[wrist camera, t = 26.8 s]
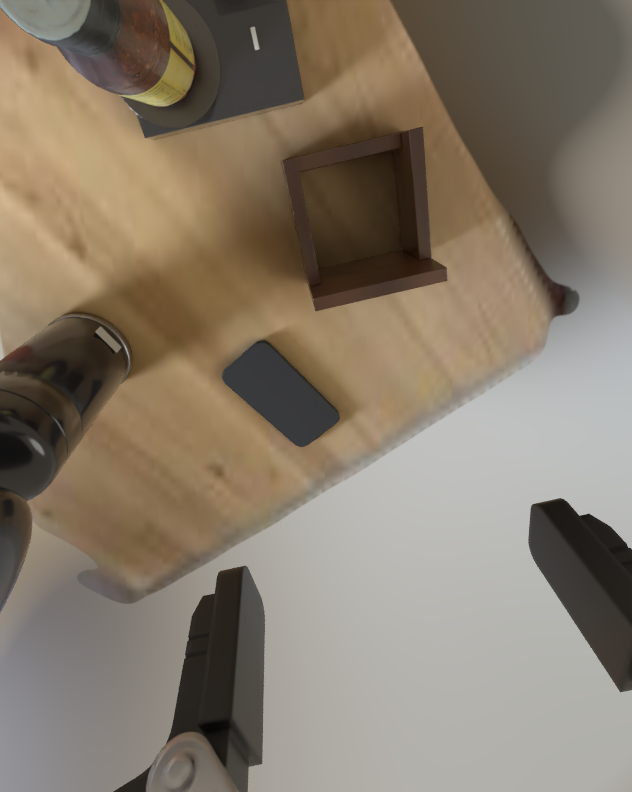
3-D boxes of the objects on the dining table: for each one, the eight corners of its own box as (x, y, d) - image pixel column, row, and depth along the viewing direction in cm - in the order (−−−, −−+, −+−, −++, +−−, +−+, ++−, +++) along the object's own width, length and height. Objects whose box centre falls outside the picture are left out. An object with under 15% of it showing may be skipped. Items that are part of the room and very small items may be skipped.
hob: (153, 140, 38) (144, 138, 35) (85, -58, 32) (67, -79, 29) (319, 99, 38) (322, 94, 35) (284, -109, 31) (285, -136, 28)
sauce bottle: (117, -4, 31) (-81, -217, 14) (203, 26, 32) (121, -136, 15) (115, 100, 34) (-49, 34, 17) (193, 123, 35) (116, 84, 18)
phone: (300, 450, 56) (217, 377, 49) (300, 446, 56) (218, 374, 50) (343, 418, 54) (262, 338, 47) (342, 414, 54) (263, 335, 48)
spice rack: (307, 283, 46) (315, 311, 37) (280, 161, 40) (283, 160, 31) (414, 258, 45) (447, 280, 37) (403, 131, 39) (439, 122, 31)
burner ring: (134, 139, 35) (133, 139, 35) (85, 4, 31) (83, 3, 31) (234, 115, 35) (233, 114, 35) (198, -25, 31) (198, -26, 31)
